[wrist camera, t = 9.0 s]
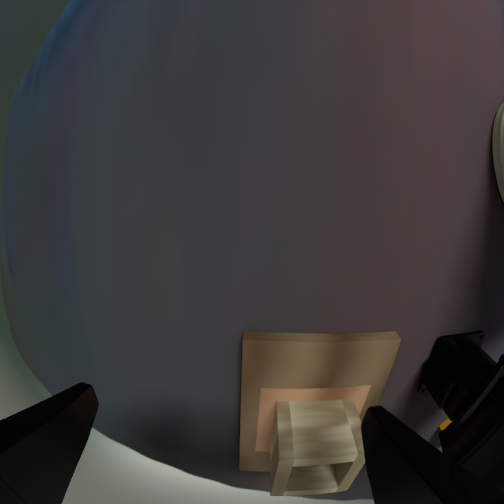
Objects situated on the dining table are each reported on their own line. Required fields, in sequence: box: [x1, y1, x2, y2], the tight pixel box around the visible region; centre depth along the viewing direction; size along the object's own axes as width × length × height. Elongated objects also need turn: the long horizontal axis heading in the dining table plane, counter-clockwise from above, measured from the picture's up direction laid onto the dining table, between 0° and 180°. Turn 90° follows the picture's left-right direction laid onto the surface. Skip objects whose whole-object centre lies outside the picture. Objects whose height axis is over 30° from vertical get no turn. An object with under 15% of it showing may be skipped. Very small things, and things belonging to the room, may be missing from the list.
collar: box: [270, 399, 365, 496], centre depth 18 cm, size 6×6×6 cm
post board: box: [239, 331, 401, 472], centre depth 20 cm, size 12×18×6 cm, turn 178°
